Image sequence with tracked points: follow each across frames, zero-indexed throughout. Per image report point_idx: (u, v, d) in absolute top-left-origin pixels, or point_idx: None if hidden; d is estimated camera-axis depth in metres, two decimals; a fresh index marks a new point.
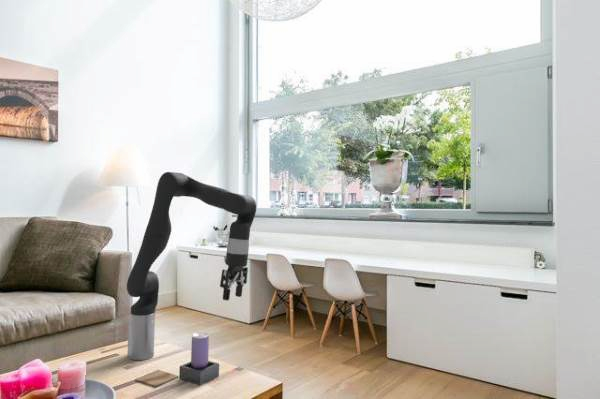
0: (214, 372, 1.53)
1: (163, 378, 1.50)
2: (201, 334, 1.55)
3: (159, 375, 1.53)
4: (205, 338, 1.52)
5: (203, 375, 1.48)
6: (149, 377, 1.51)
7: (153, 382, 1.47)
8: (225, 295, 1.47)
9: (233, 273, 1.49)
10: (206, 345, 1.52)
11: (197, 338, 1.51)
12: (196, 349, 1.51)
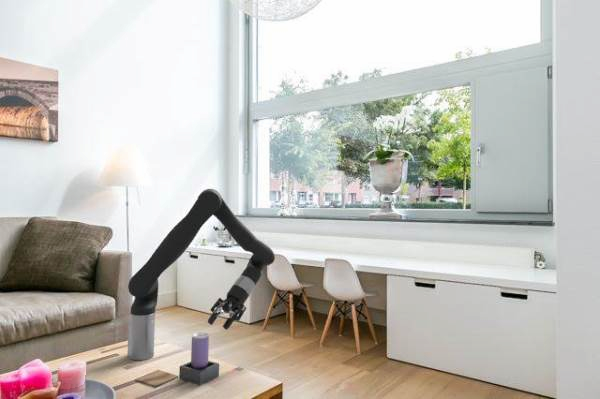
0: (214, 372, 1.53)
1: (163, 378, 1.50)
2: (201, 334, 1.55)
3: (159, 375, 1.53)
4: (205, 338, 1.52)
5: (203, 375, 1.48)
6: (149, 377, 1.51)
7: (153, 382, 1.47)
8: (229, 325, 1.57)
9: None
10: (206, 345, 1.52)
11: (197, 338, 1.51)
12: (196, 349, 1.51)
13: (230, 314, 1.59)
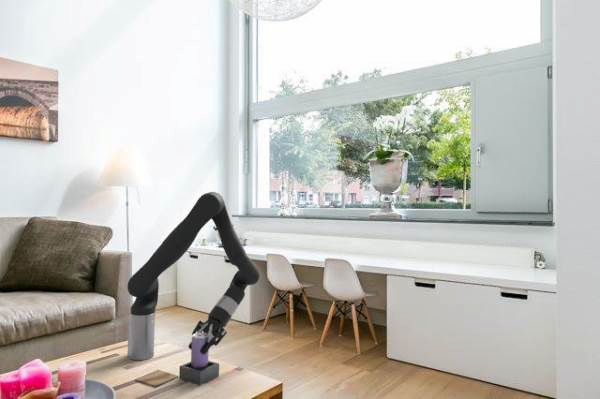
0: (214, 372, 1.53)
1: (163, 378, 1.50)
2: (201, 334, 1.55)
3: (159, 375, 1.53)
4: (205, 338, 1.52)
5: (203, 375, 1.48)
6: (149, 377, 1.51)
7: (153, 382, 1.47)
8: (207, 350, 1.51)
9: None
10: None
11: (197, 338, 1.51)
12: (196, 348, 1.51)
13: (208, 338, 1.52)
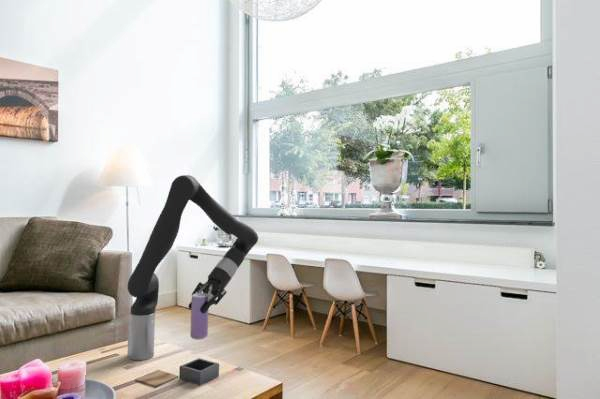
0: (214, 372, 1.53)
1: (163, 378, 1.50)
2: (201, 294, 1.55)
3: (159, 375, 1.53)
4: (205, 297, 1.52)
5: (203, 375, 1.48)
6: (149, 377, 1.51)
7: (153, 382, 1.47)
8: (206, 308, 1.51)
9: None
10: None
11: (197, 297, 1.51)
12: (195, 307, 1.51)
13: (208, 297, 1.52)
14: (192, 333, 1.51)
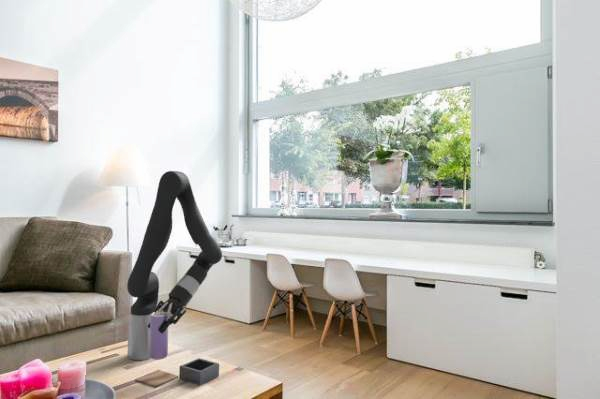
0: (214, 372, 1.53)
1: (163, 378, 1.50)
2: (160, 313, 1.52)
3: (159, 375, 1.53)
4: (163, 316, 1.49)
5: (203, 375, 1.48)
6: (149, 377, 1.51)
7: (153, 382, 1.47)
8: (165, 328, 1.48)
9: None
10: None
11: (155, 316, 1.49)
12: (154, 327, 1.48)
13: (167, 317, 1.50)
14: (151, 353, 1.49)
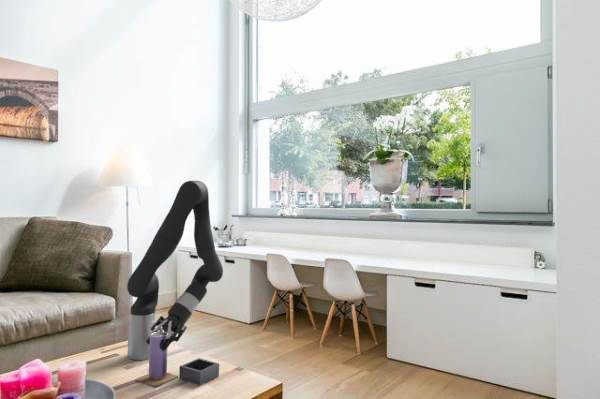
0: (214, 372, 1.53)
1: (163, 378, 1.50)
2: (160, 333, 1.53)
3: None
4: (163, 337, 1.50)
5: (203, 375, 1.48)
6: None
7: (153, 382, 1.47)
8: (167, 346, 1.48)
9: None
10: None
11: (155, 337, 1.49)
12: (153, 347, 1.49)
13: (168, 334, 1.50)
14: (150, 373, 1.49)
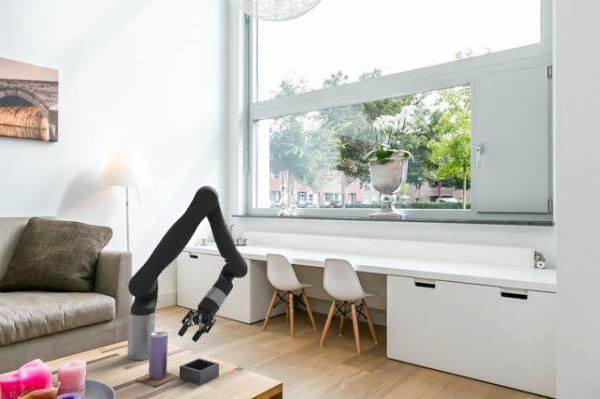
0: (214, 372, 1.53)
1: None
2: (160, 333, 1.53)
3: None
4: (163, 337, 1.50)
5: (203, 375, 1.48)
6: None
7: (153, 382, 1.47)
8: (198, 337, 1.58)
9: None
10: (164, 344, 1.50)
11: (155, 337, 1.49)
12: (153, 348, 1.48)
13: (199, 326, 1.60)
14: (150, 373, 1.49)
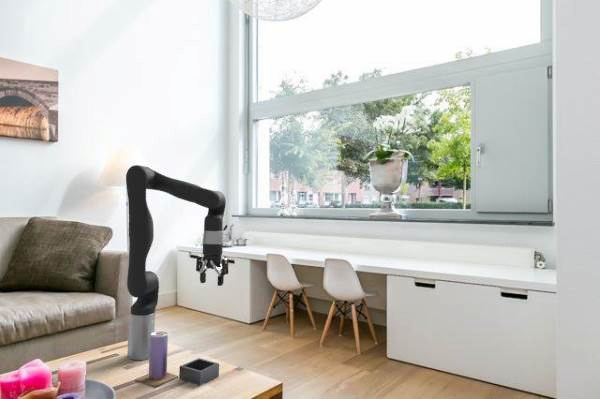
0: (214, 372, 1.53)
1: None
2: (160, 333, 1.53)
3: None
4: (163, 337, 1.50)
5: (203, 375, 1.48)
6: None
7: (153, 382, 1.47)
8: (222, 281, 1.66)
9: None
10: (164, 344, 1.50)
11: (155, 337, 1.49)
12: (153, 348, 1.49)
13: (218, 272, 1.65)
14: (150, 373, 1.49)
